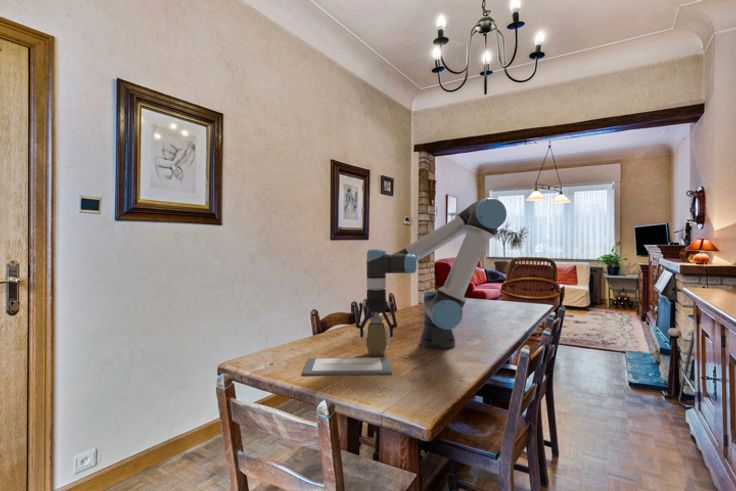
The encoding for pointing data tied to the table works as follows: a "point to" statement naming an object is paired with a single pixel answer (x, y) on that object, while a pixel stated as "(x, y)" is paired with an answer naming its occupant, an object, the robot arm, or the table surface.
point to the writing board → (347, 366)
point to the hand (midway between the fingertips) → (376, 345)
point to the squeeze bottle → (376, 336)
